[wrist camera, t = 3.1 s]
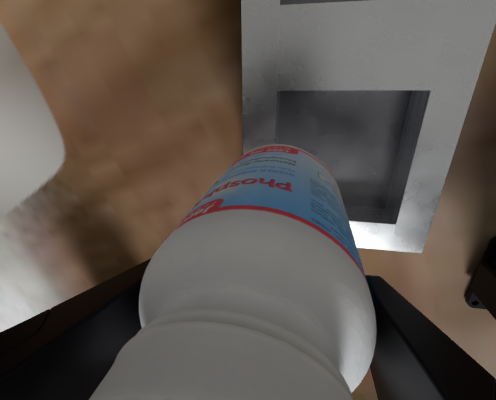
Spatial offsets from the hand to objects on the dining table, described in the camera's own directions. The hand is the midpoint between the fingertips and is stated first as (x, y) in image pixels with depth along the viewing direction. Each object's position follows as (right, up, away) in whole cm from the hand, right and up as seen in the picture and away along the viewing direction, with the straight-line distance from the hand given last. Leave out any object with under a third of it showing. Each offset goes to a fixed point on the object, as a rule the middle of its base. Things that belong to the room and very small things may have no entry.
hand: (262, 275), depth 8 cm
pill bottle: (+1, +3, +6) cm, 6 cm away
